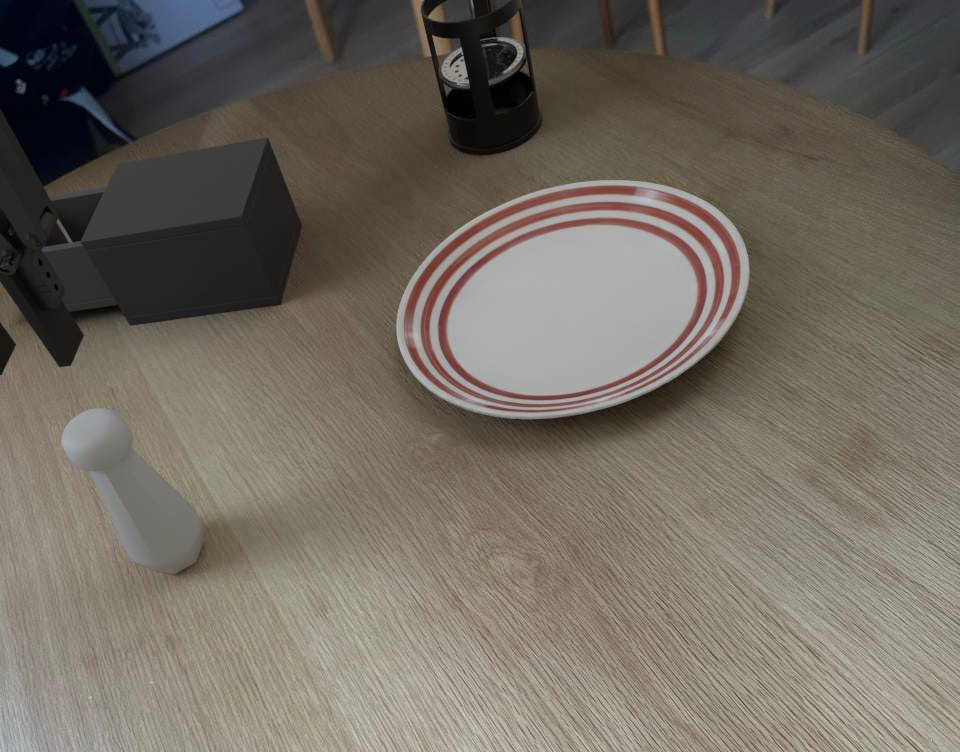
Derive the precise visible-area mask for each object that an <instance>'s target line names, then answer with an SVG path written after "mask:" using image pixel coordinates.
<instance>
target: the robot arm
mask: <svg viewBox="0 0 960 752" xmlns="http://www.w3.org/2000/svg"><path fill="white" fill-rule="evenodd" d="M58 220H59V219H58V213H57V211H56V209H55V207H54V205H53V203H52V202H51V200H50V196H49V194H48V193H47V191H46V189H45V186H44V185H43V183H42V182H41V180H40V178H39V176H38V174H37V173H36V170H35V169H34V167H33V165H32V164H31V162H30V160H29V159H28V156H27V154H26V153H25V151H24V149H23V147H22V145H21V144H20V142H19V140H18V138H17V136H16V134H15V133H14V131H13V129H12V127H11V126H10V123H9V122H8V120H7V118H6V116H5V114H4V113H3V111H2V109H1V108H0V282H1V283H0V284H1V285H2V286H3V288H4V289H5V291H6V292H7V294H8V296H9V297H10V298H11V300H12V301H13V303H14V304H15V305H16V308H18V310H19V311H20V312H21V314H22V316H23V317H24V319H25V320H26V321H27V323H28V324H29V325H30V327H31V329H32V330H33V331H34V333H35V334H36V336H37V337H38V339H39V340H40V341H41V343H42V344H43V346H44V348H45V349H46V350H47V352H48V353H49V355H50V357H52V359H53V360H54V362H55V363H56V365H57V366H58V367H59V368H65V367H71V366H72V364H73V363H74V359H75V357H76V355H77V352H79V351H78V350H79V348H80V346H81V344H82V341H83V338H84V336H85V334H84V333H83V331H82V329H81V328H80V326H79V325H78V323H77V322H76V320H75V319H74V317H73V315H72V314H71V312H69V311H68V309H67V308H66V306H65V305H64V303H63V302H62V298H63V296H64V294H65V289H64V284H63V283H62V281H61V280H60V278H59V276H57V273H56V272H55V270H54V269H53V267H52V265H51V264H50V262H49V261H48V259H47V258H46V256H45V254H44V253H43V251H42V250H41V249H42V248H43V247H44V246H45V244H46V242H47V240H48V238H49V236H50V234H51V232H52V230H53V228H54V226H55V224H56V222H57V223H58ZM16 346H17V343H16V342H15V341H14V339H13V338H12V336H11V335H10V333H9V332H8V331H7V329H6V328H5V326H4V325H3V324H2V322H0V376H2V375H3V373H4V371H5V369H6V366H7V365H8V364H9V361H10V358H11V357H12V354H13V352H14V350H15V349H16Z"/></svg>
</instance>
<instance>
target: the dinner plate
mask: <svg viewBox="0 0 960 752" xmlns="http://www.w3.org/2000/svg"><path fill="white" fill-rule="evenodd" d="M750 269H751V267H750V259H749V255H748V249H747V247H746V244H745V242H744V240H743V237H742V235H741V234H740V232H739V230H738V229H737V227H736V226H735V225H734V223H733V222H732V221H731V220H730V219H729V218H728V217H727V216H726V215H725V214H724V213H723V212H722V211H721V210H719V209H718V208H717V207H715V206H714V205H712V204H711V203H709V202H708V201H706V200H704V199H702V198H700V197H698V196H697V195H694V194H692V193H689V192H686V191H683V190H681V189H678V188H675V187H672V186H669V185H665V184H660V183H654V182H650V181H649V182H648V181H641V180H627V179H601V180H589V181H580V182H572V183H567V184H561V185H557V186H556V185H555V186H551V187H548V188H544V189H539V190H537V191H533V192H531V193H528V194H525V195H522V196H519V197H516V198H513V199H511V200H510V201H507V202H504V203H502V204H500V205H498V206H496V207H494V208H491V209H489V210H487V211H485V212H484V213H482V214H480V215H479V216H476V217H475V218H473V219H472V220H470V221H468V222H467V223H465V224H463V226H461V227H460V228H457V230H455V231H454V232H453V233H452V234H450V235H449V236H447V237H446V238H445V239H444V240H443V241H442V242H441V243H439V244H438V246H436V247H435V248H434V249H433V250H432V251H431V252H430V253H429V255H427V256H426V258H425V259H424V260H423V261H422V262H421V264H420V265H419V266H418V268H417V269H416V271H415V272H414V274H413V275H412V277H411V278H410V280H409V282H408V283H407V286H406V288H405V290H404V292H403V294H402V297H401V300H400V302H399V306H398V310H397V314H396V322H395V323H396V325H395V326H396V327H395V329H396V339H397V344H398V348H399V351H400V354H401V356H402V359H403V360H404V363H405V365H406V366H407V368H408V369H409V371H410V373H411V374H412V375H413V376H414V377H415V378H416V380H418V382H419V383H420V384H421V385H422V386H424V387H425V388H426V389H427V390H429V391H430V392H431V393H433V394H434V395H436V396H437V397H438V398H440V399H442V400H444V401H446V402H447V403H449V404H452V405H454V406H456V407H458V408H461V409H462V410H466V411H469V412H473V413H476V414H479V415H484V416H489V417H494V418H502V419H503V418H504V419H510V420H516V419H518V420H545V419H547V420H548V419H557V418H558V419H559V418H567V417H573V416H578V415H583V414H588V413H592V412H596V411H597V412H598V411H600V410H605V409H607V408H611V407H614V406H615V407H616V406H618V405H620V404H624V403H626V402H629V401H632V400H634V399H636V398H639V397H641V396H642V395H646V394H648V393H650V392H653V391H655V390H657V389H658V388H660V387H661V386H663V385H665V384H667V383H669V382H671V381H672V380H674V379H676V378H677V377H679V376H680V375H682V374H683V373H684V372H686V371H688V370H689V369H690V368H692V367H693V366H695V365H696V364H697V363H698V362H699V361H701V360H702V359H703V358H705V356H706V355H708V354H709V353H710V352H711V351H712V350H713V349H714V348H715V347H716V346H717V345H718V344H719V343H720V342H721V341H722V339H723V338H724V337H725V336H726V335H727V333H728V331H729V330H730V329H731V327H732V326H733V325H734V323H735V321H736V319H737V318H738V316H739V314H740V312H741V310H742V308H743V305H744V303H745V300H746V297H747V294H748V290H749V285H750V275H751V274H750V273H751V272H750V271H751V270H750Z"/></svg>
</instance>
